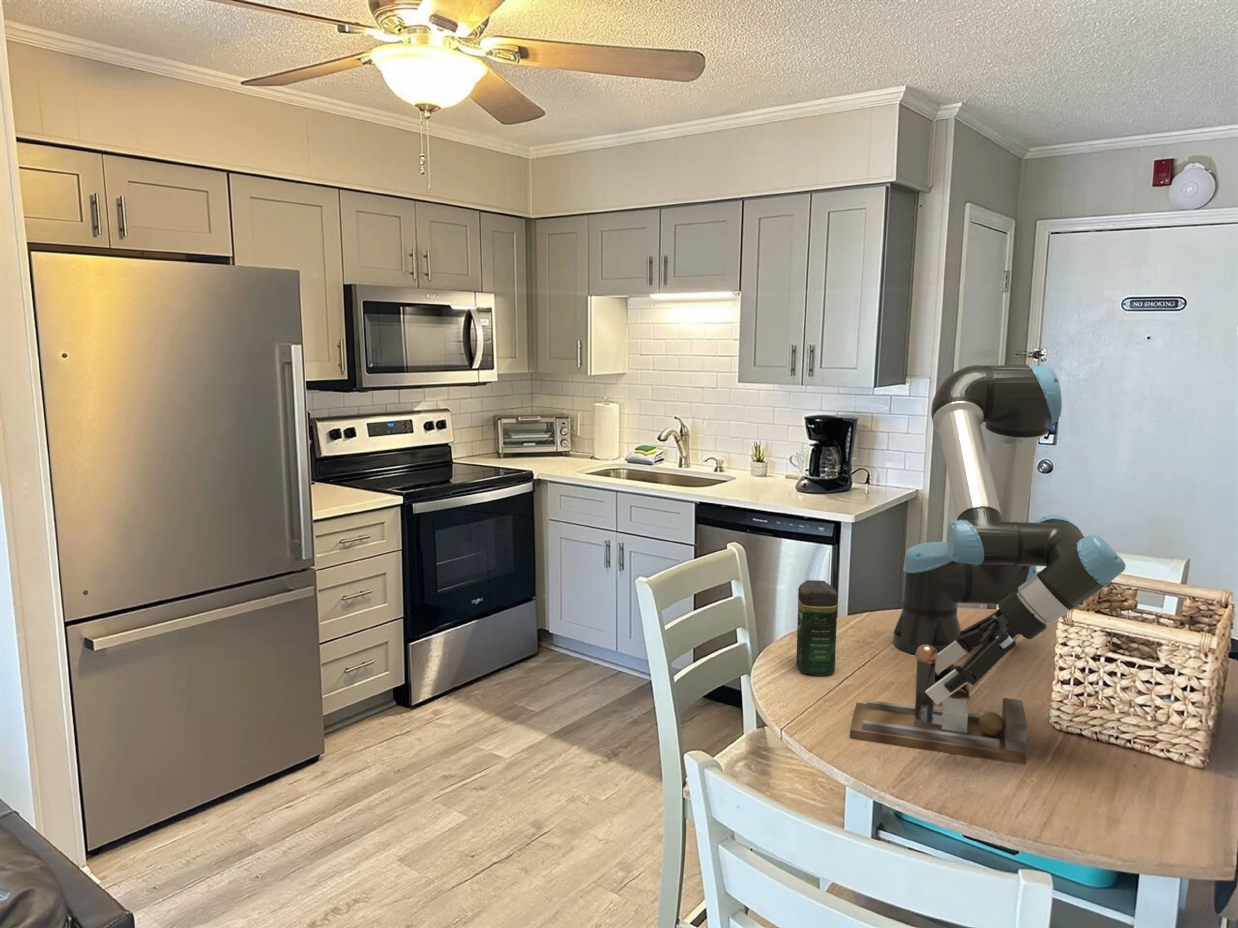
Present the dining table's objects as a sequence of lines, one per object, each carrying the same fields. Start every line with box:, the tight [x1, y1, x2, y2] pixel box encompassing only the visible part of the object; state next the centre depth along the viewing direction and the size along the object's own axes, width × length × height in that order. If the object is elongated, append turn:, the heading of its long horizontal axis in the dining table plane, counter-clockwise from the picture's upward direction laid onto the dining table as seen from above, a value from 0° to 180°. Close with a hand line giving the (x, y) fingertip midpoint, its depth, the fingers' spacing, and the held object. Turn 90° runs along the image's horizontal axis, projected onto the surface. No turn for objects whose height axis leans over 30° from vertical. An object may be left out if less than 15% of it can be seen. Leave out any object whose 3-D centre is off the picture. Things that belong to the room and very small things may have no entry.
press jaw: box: [914, 644, 969, 735], centre depth 149 cm, size 9×7×15 cm
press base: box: [849, 697, 1028, 765], centre depth 150 cm, size 28×12×6 cm, turn 70°
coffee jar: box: [795, 579, 838, 676], centre depth 180 cm, size 10×8×19 cm
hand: (931, 682), depth 149 cm, fingers open, 13 cm apart
